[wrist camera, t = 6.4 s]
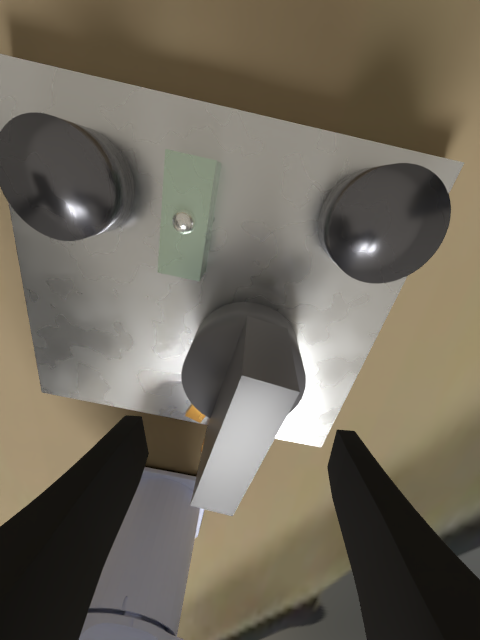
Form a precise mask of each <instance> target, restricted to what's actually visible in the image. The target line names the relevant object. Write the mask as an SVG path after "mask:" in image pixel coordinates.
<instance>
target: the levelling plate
mask: <svg viewBox="0 0 480 640" xmlns="http://www.w3.org/2000/svg"><path fill="white" fill-rule="evenodd" d="M463 164H464V162H459V161H455V160H451V159H447V158H442V157H438V156H434V155H429V154H425V153H421V152H417V151H412V150H408V149H404V148H400V147H395V146H391V145H387V144H383V143H378V142H374V141H370V140H366V139H361V138H357V137H353V136H348V135H344V134H340V133H336V132H331V131H327V130H323V129H319V128H314V127H310V126H306V125H302V124H297V123H293V122H289V121H284V120H280V119H276V118H272V117H267V116H263V115H259V114H255V113H250V112H246V111H242V110H238V109H233V108H229V107H225V106H220V105H216V104H212V103H208V102H203V101H199V100H195V99H191V98H186V97H182V96H178V95H174V94H169V93H165V92H161V91H156V90H152V89H148V88H144V87H139V86H135V85H131V84H127V83H122V82H118V81H114V80H110V79H105V78H101V77H97V76H92V75H88V74H84V73H80V72H75V71H71V70H67V69H63V68H58V67H54V66H50V65H46V64H41V63H37V62H33V61H29V60H24V59H20V58H16V57H11V56H7V55H3V54H0V187H1V189H2V191H3V193H4V195H5V197H6V199H7V201H8V203H9V208H10V214H11V220H12V225H13V231H14V237H15V242H16V248H17V254H18V260H19V265H20V271H21V277H22V282H23V288H24V294H25V299H26V305H27V311H28V316H29V322H30V328H31V334H32V339H33V345H34V351H35V356H36V362H37V368H38V373H39V379H40V385H41V390H42V392H43V393H48V394H53V395H58V396H63V397H68V398H73V399H78V400H83V401H88V402H93V403H98V404H104V405H109V406H114V407H119V408H124V409H129V410H134V411H139V412H144V413H149V414H154V415H159V416H164V417H170V418H175V419H180V420H185V421H190V422H195V423H200V424H205V425H208V423H209V421H210V418H208V417H206V416H205V415H204V414H202V413H201V412H200V411H198V410H197V409H196V408H195V407H194V406H193V404H192V403H191V402H190V401H189V399H188V397H187V396H186V394H185V391H184V389H183V385H182V379H181V372H182V366H183V363H184V360H185V358H186V356H187V353H188V351H189V349H190V346H191V344H192V342H193V339H194V337H195V335H196V332H197V330H198V328H199V326H200V324H201V323H202V322H203V320H204V319H205V318H206V317H207V316H208V315H209V314H210V313H212V312H213V311H214V310H216V309H218V308H220V307H222V306H224V305H227V304H231V303H236V302H253V303H258V304H262V305H265V306H268V307H270V308H272V309H274V310H276V311H277V312H279V313H280V314H281V315H283V316H284V317H285V318H286V319H287V320H288V322H289V323H290V324H291V326H292V328H293V329H294V331H295V334H296V337H297V341H298V345H299V349H300V353H301V357H302V362H303V366H304V370H305V374H306V386H305V391H304V394H303V397H302V399H301V401H300V402H299V404H298V405H297V406H296V408H295V409H294V410H293V411H292V412H291V413H289V414H288V415H287V417H286V419H285V421H284V422H283V424H282V426H281V428H280V430H279V432H278V433H277V435H276V437H275V438H276V439H281V440H286V441H291V442H297V443H302V444H307V445H312V446H317V447H322V445H323V443H324V441H325V439H326V437H327V435H328V433H329V431H330V429H331V427H332V425H333V423H334V421H335V419H336V417H337V415H338V413H339V411H340V409H341V407H342V405H343V403H344V401H345V399H346V397H347V395H348V393H349V391H350V389H351V387H352V385H353V383H354V381H355V379H356V377H357V375H358V373H359V371H360V369H361V367H362V365H363V363H364V361H365V359H366V357H367V355H368V353H369V351H370V349H371V347H372V345H373V343H374V341H375V339H376V337H377V335H378V333H379V331H380V329H381V327H382V325H383V324H384V322H385V320H386V318H387V316H388V314H389V312H390V310H391V308H392V306H393V304H394V302H395V300H396V298H397V296H398V294H399V292H400V290H401V288H402V286H403V284H404V282H405V280H406V278H407V276H408V275H410V274H411V273H413V272H415V271H416V270H417V269H419V268H420V267H422V266H423V265H424V264H425V263H426V262H427V261H428V260H429V259H430V258H431V257H432V256H433V255H434V253H435V252H436V251H437V249H438V248H439V246H440V245H441V243H442V241H443V239H444V237H445V235H446V232H447V229H448V226H449V222H450V214H451V205H450V199H449V192H450V190H451V188H452V186H453V184H454V182H455V180H456V178H457V176H458V174H459V172H460V170H461V168H462V166H463Z"/></svg>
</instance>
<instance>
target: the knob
mask: <svg viewBox="0 0 480 640" xmlns="http://www.w3.org/2000/svg"><path fill="white" fill-rule="evenodd" d="M181 379H182V385H183V389H184V391H185V394H186V396H187V397H188V399H189V401H190V402H191V403H192V404H193V406H194V407H195V408H196V409H197V410H198V411H200V412H201V413H202V414H204V415H205V416H206V417H208V418H210V421H209V423H208V426H207V430H206V435H205V438H204V441H203V444H202V448H201V452H202V453H201V458H200V463H199V467H198V472H197V476H196V481H195V486H194V490H193V495H192V499H191V504H190V506H193V507H197V508H201V509H205V510H210V511H214V512H218V513H222V514H226V515H230V516H233V514H234V513H235V511H236V509H237V507H238V505H239V503H240V502H241V500H242V498H243V496H244V494H245V492H246V491H247V489H248V487H249V485H250V483H251V481H252V479H253V478H254V476H255V474H256V472H257V470H258V468H259V467H260V465H261V463H262V461H263V459H264V457H265V456H266V454H267V452H268V450H269V448H270V446H271V444H272V443H273V441H274V439H275V437H276V435H277V433H278V432H279V430H280V428H281V426H282V424H283V422H284V421H285V419H286V417H287V415H288V414H289V413H291V412H292V411H293V410H294V409H295V408H296V406H297V405H298V404H299V402H300V401H301V399H302V397H303V394H304V391H305V386H306V374H305V370H304V366H303V362H302V357H301V353H300V349H299V345H298V341H297V337H296V334H295V331H294V329H293V328H292V326H291V324H290V323H289V322H288V320H287V319H286V318H285V317H284V316H283V315H281V314H280V313H279V312H277V311H276V310H274V309H272V308H270V307H268V306H265V305H262V304H258V303H253V302H236V303H231V304H227V305H224V306H222V307H220V308H218V309H216V310H214V311H213V312H212V313H210V314H209V315H208V316H207V317H206V318H205V319H204V320H203V322H202V323H201V324H200V326H199V328H198V330H197V332H196V335H195V337H194V339H193V342H192V344H191V346H190V349H189V351H188V353H187V356H186V358H185V360H184V363H183V366H182V372H181Z"/></svg>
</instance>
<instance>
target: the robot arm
mask: <svg viewBox="0 0 480 640" xmlns="http://www.w3.org/2000/svg"><path fill="white" fill-rule="evenodd" d="M148 454H149V453H148V448H147V442H146V437H145V432H144V426H143V421H142V417H141V416H125V417H123V418H122V419H121V420H120V421H119V422H118V423H117V424H116V425H115V426H114V427H113V428H112V429H111V430H110V431H109V432H108V433H107V434H106V435H105V436H104V437H103V438H102V439H101V440H100V441H99V442H98V443H97V444H96V445H95V446H94V447H93V448H92V449H91V450H89V451H88V452H87V453H86V454H85V455H84V456H83V457H82V458H81V459H80V460H79V461H78V462H77V463H76V464H75V465H73V466H72V467H71V468H70V469H69V470H68V471H67V472H66V473H65V474H63V475H62V476H61V477H60V478H59V479H58V480H57V481H55V482H54V483H53V484H52V485H51V486H50V487H49V488H47V489H46V490H45V491H44V492H43V493H42V494H40V495H39V496H38V497H37V498H36V499H34V500H33V501H32V502H31V503H30V504H28V505H27V506H26V507H25V508H23V509H22V510H21V511H20V512H18V513H17V514H16V515H15V516H13V517H12V518H11V519H9V520H8V521H7V522H6V523H4V524H3V525H2V526H0V640H183V638H179V637H177V632H178V627H179V621H180V616H181V610H182V605H183V599H184V594H185V589H186V583H187V578H188V572H189V567H190V561H191V556H192V551H193V545H194V540H195V538H196V537H197V536H198V533H199V529H200V525H201V521H202V517H203V513H204V509H201V508H197V507H193V506H190V504H191V499H192V495H193V490H194V486H195V481H196V477H195V476H190V475H185V474H179V473H174V472H169V471H164V470H158V469H153V468H148V467H145V464H146V461H147V457H148ZM328 474H329V480H330V486H331V492H332V498H333V502H334V506H335V509H336V513H337V517H338V521H339V524H340V528H341V532H342V535H343V539H344V543H345V546H346V550H347V554H348V557H349V561H350V565H351V568H352V572H353V575H354V580H355V584H356V588H357V592H358V596H359V601H360V606H361V612H362V617H363V622H364V627H365V632H366V637H367V640H480V580H479V578H478V577H477V576H476V575H475V574H473V572H472V571H470V569H469V568H468V567H467V566H466V565H465V564H464V563H463V562H462V561H461V560H460V559H459V558H458V557H457V556H456V555H455V554H454V553H453V551H452V550H451V549H450V548H449V547H448V546H447V545H446V544H445V543H444V542H443V541H442V540H441V538H440V537H439V536H438V535H437V534H436V533H435V532H434V531H433V529H432V528H431V527H430V526H429V525H428V524H427V523H426V521H425V520H424V519H423V518H422V517H421V516H420V514H419V513H418V512H417V511H416V510H415V509H414V507H413V506H412V505H411V504H410V503H409V501H408V500H407V499H406V498H405V496H404V495H403V494H402V493H401V491H400V490H399V489H398V488H397V486H396V485H395V484H394V483H393V481H392V480H391V479H390V478H389V476H388V475H387V474H386V473H385V471H384V470H383V469H382V467H381V466H380V465H379V463H378V462H377V461H376V459H375V458H374V457H373V455H372V454H371V453H370V451H369V450H368V449H367V447H366V446H365V444H364V443H363V442H362V440H361V439H360V438H359V436H358V435H357V434H356V432H355V431H347V430H337V432H336V436H335V440H334V443H333V447H332V451H331V455H330V459H329V463H328Z"/></svg>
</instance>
